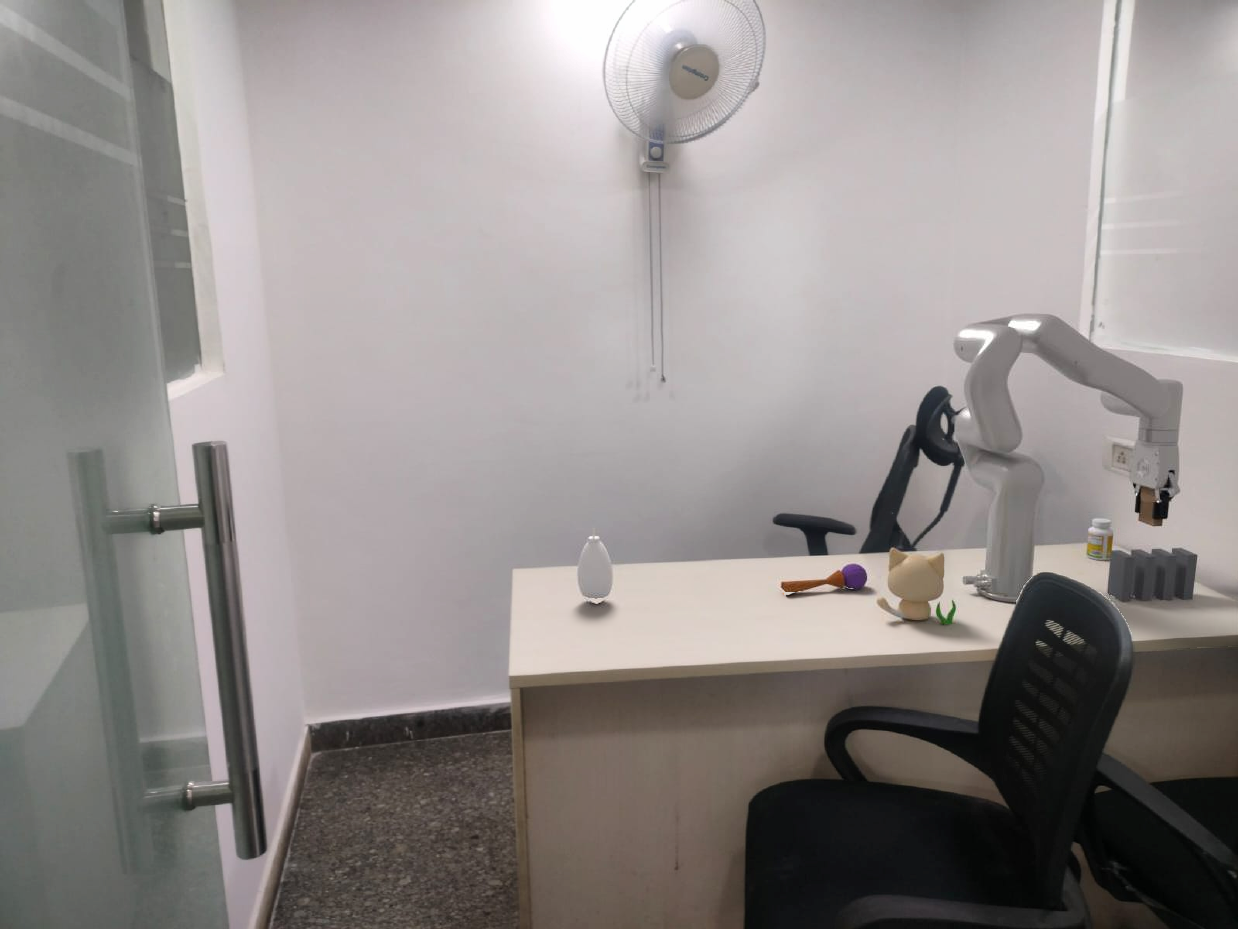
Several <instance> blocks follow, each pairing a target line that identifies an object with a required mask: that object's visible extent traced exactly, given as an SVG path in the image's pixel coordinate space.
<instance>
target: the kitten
mask: <svg viewBox="0 0 1238 929" xmlns="http://www.w3.org/2000/svg"><path fill="white" fill-rule="evenodd" d="M888 557H889V559H888V560H889V561H888V575H887V587H888V590H889V592H890V593H892V594H893V595H894V596H895V597H897V598H899V599H901V600H899V601H900V602H899V604H898V606H897V607H898V608H897V609H896V608H893V607H891V605H889V603H888V601H887V599H886V598H885V597H882V596H880V597H877V599H876V603H877V605H878V606H879V608H880V609H882V610H883V611H885V612H887V613H888V614H890V615H893V616H895V617H897V618H901V619H907V620H911V621H923V620H924V621H925V620H927V619H929V618H930V617H931V615H932V608H931V607H932V606H931V604H930V603H929V602H931V601H935V600H937V599H939V598H940V597H941V596H942V595H943V593H944V588H945V585H944V582H945V581H944V577H945V554H944V553H943V552H938V553H936V554H933V555H930V556H926V555H923V554H917V553H910V554H906V553H904V552H902V551H901V550H898V549H897V548H895V547H891V548H890V550H889V553H888ZM940 604H941V601H939V602H938V603H937V606H936V609H935V615H936V617H937V619H939V620H940V624H941V625H944V626H947V625H952V624H953V619H954V615H955V614H956V611H957V610H956V609H957V605H956V603H955V601H954V600H953V599H951V604H952V607H951V609H950V610H949V612H948V613H947V616H946V617H945V616H944V615H943V613H942V610H941V605H940Z"/></svg>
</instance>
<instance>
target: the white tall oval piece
mask: <svg viewBox="0 0 1238 929" xmlns="http://www.w3.org/2000/svg"><path fill="white" fill-rule="evenodd" d="M595 532H596V531H595V526H594V525H593V526H592V535H590V536H589V537H587V542H586V543H585V544H584V547H583V548H582V551H581V553H580V556H579V560H578V565H577V584H578V588H579V591H580V593H581V595H582V596H585V597H588V598H595V599H597V598H604V597H606V596H608V597H609V595H610V594H611V590H612V587H613V583H614V582H613V580H614V579H613V578H614V576H613V575H614V574H613V572H614V571H613V570H614V569H613V565H612V561H611V557H610V555H609V553H608V550H607V548H606V546H605V545H604V544H603V541H600V540H601V537H600V536H597V535H596V533H595Z"/></svg>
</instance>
